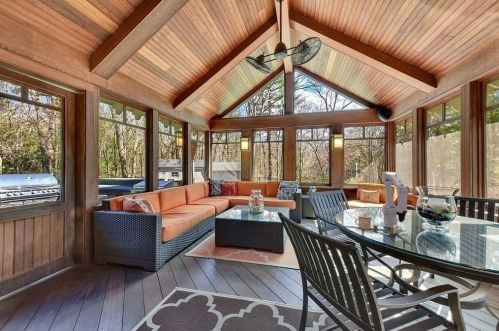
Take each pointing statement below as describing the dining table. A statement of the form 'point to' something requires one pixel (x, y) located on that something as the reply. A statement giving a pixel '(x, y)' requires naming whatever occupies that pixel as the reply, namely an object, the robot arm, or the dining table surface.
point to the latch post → (375, 228)
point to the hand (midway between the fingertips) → (401, 221)
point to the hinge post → (391, 230)
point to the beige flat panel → (395, 229)
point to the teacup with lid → (364, 221)
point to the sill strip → (383, 233)
